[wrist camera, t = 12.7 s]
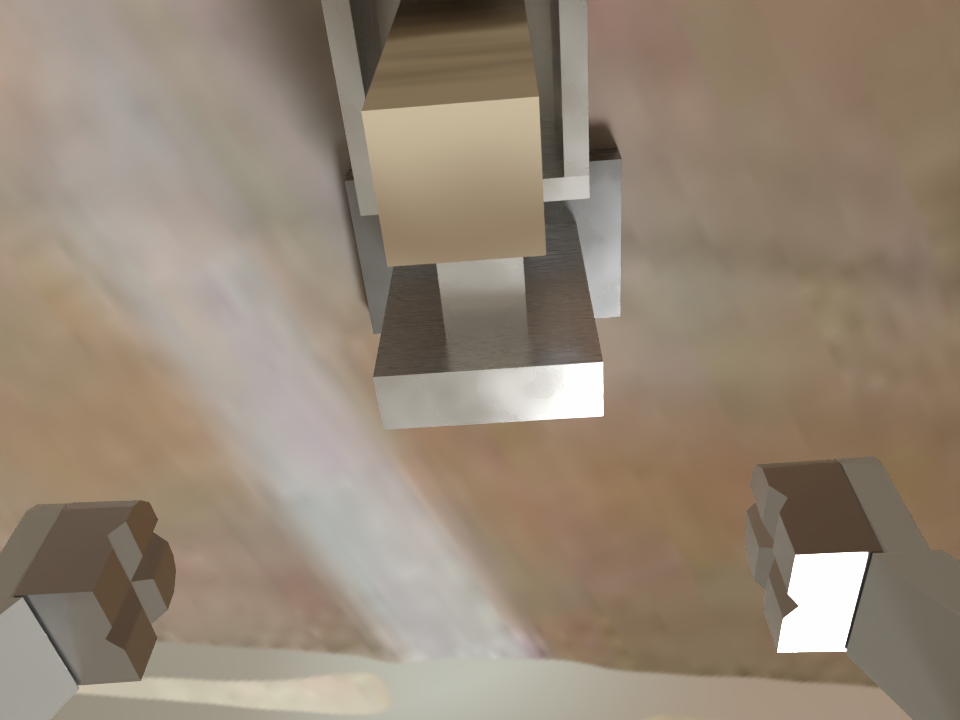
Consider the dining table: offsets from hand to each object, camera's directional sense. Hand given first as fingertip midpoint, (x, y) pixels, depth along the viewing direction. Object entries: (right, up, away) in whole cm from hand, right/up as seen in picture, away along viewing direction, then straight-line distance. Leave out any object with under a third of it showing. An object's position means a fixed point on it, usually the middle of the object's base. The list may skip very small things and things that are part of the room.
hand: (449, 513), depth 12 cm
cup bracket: (0, +12, +25) cm, 28 cm away
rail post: (0, +13, +18) cm, 23 cm away
